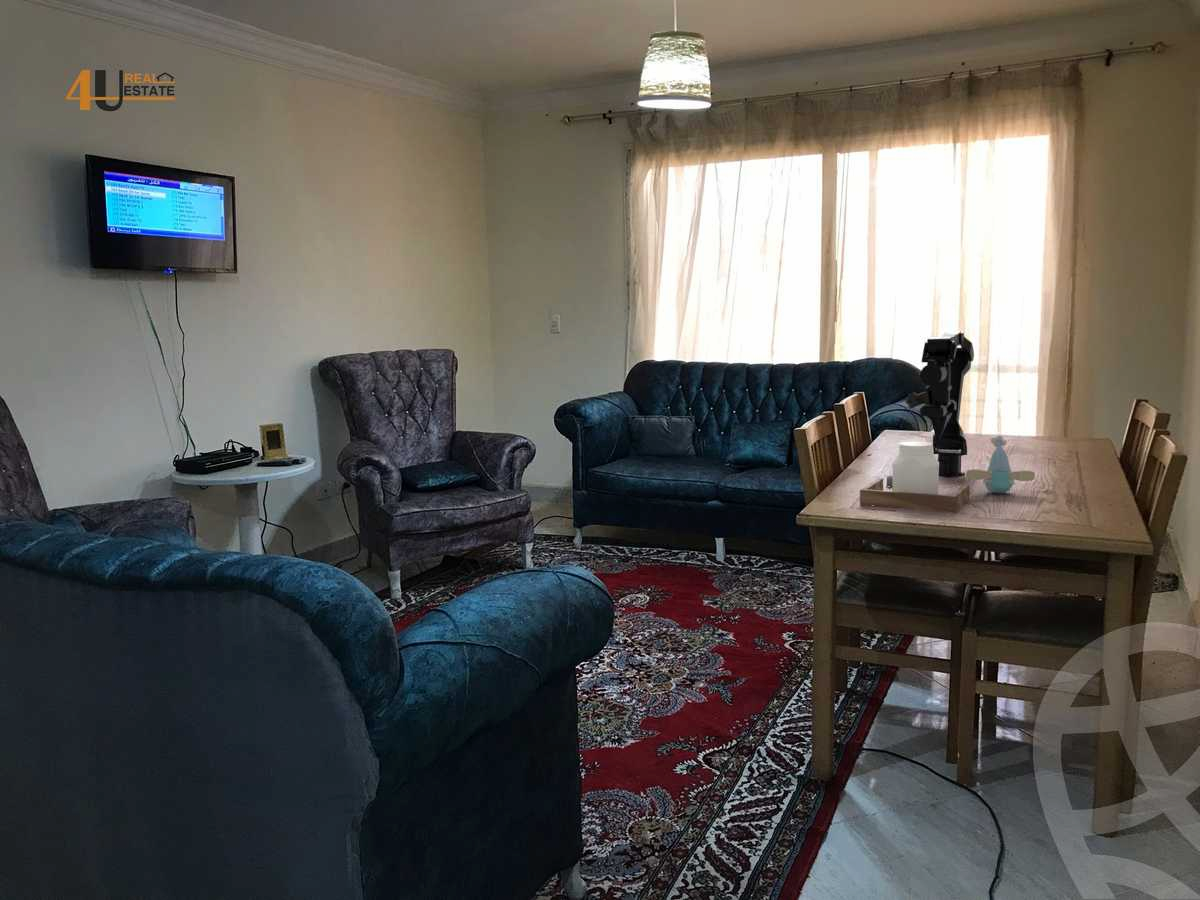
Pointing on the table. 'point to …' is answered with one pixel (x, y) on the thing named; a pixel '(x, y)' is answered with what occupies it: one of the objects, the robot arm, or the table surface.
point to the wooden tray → (913, 498)
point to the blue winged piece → (999, 470)
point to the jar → (915, 469)
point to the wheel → (889, 481)
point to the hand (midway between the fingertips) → (938, 438)
